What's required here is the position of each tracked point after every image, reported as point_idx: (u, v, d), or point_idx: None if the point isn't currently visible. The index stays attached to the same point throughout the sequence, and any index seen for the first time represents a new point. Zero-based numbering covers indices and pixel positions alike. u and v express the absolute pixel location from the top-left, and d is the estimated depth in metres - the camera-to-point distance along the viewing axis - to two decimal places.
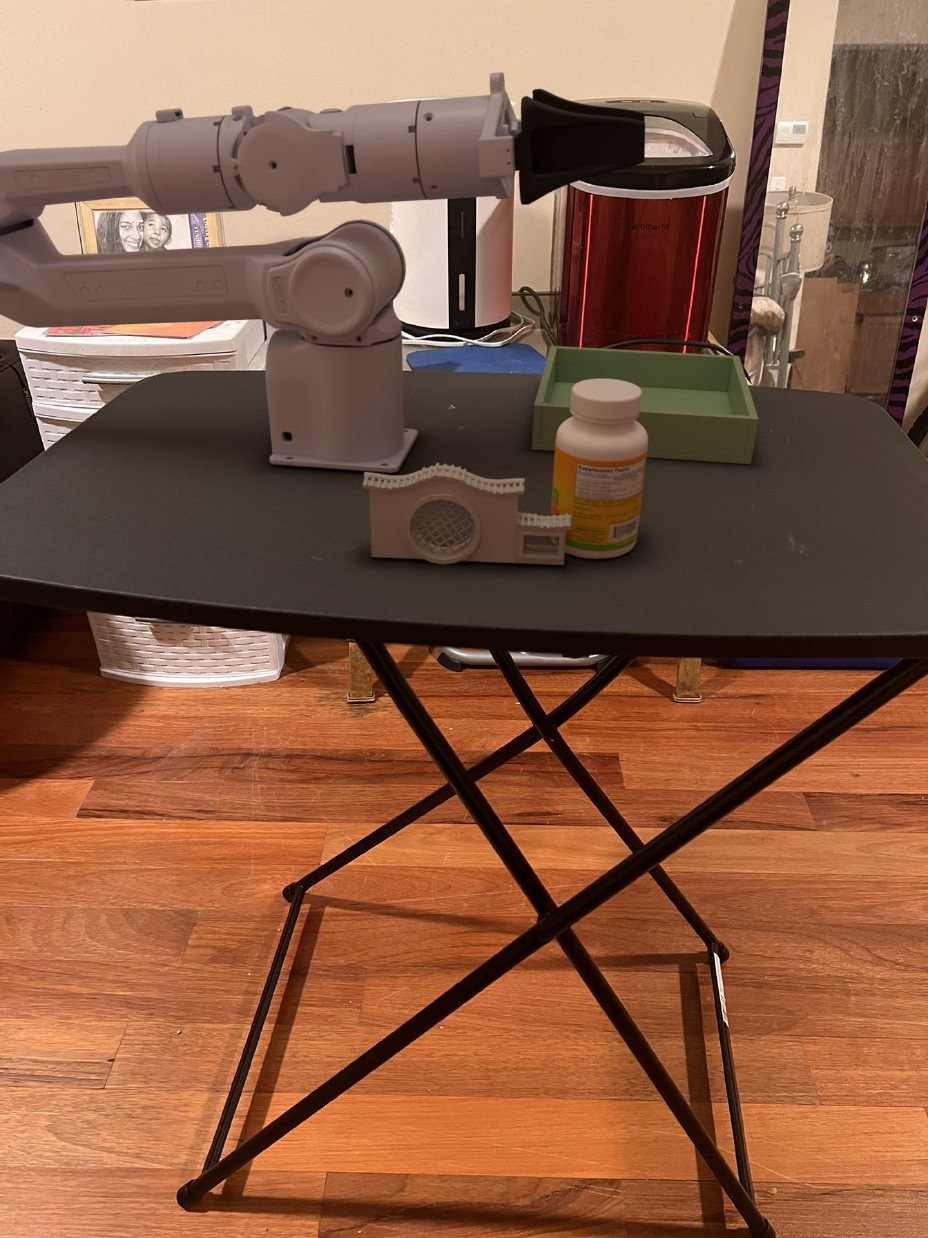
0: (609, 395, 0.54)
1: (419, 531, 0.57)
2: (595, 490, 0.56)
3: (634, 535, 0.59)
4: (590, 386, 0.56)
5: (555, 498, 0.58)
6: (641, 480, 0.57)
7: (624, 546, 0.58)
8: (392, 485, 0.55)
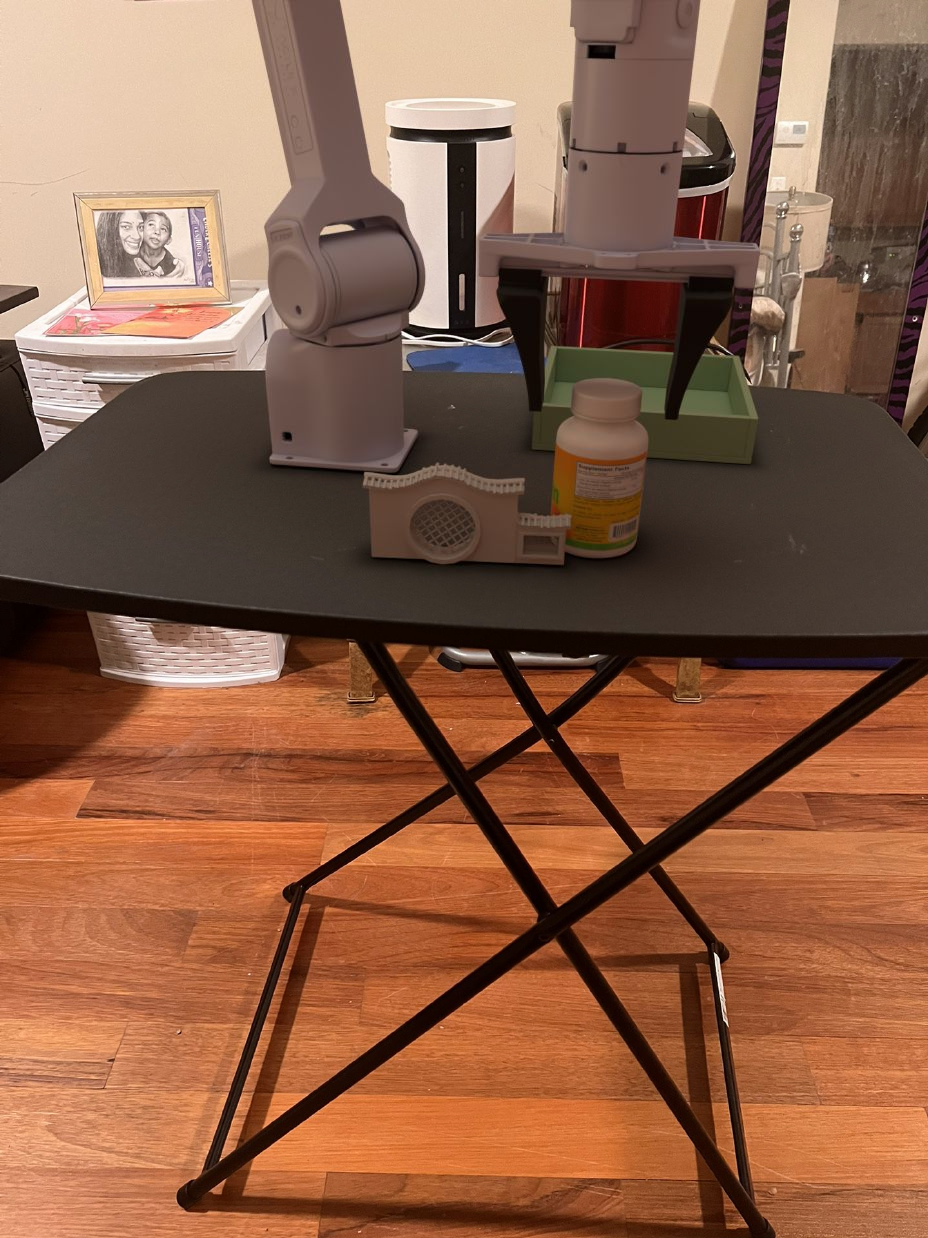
0: (609, 394, 0.55)
1: (419, 531, 0.57)
2: (595, 488, 0.56)
3: (634, 535, 0.59)
4: (591, 385, 0.56)
5: (555, 497, 0.58)
6: (641, 479, 0.57)
7: (623, 546, 0.58)
8: (392, 485, 0.55)
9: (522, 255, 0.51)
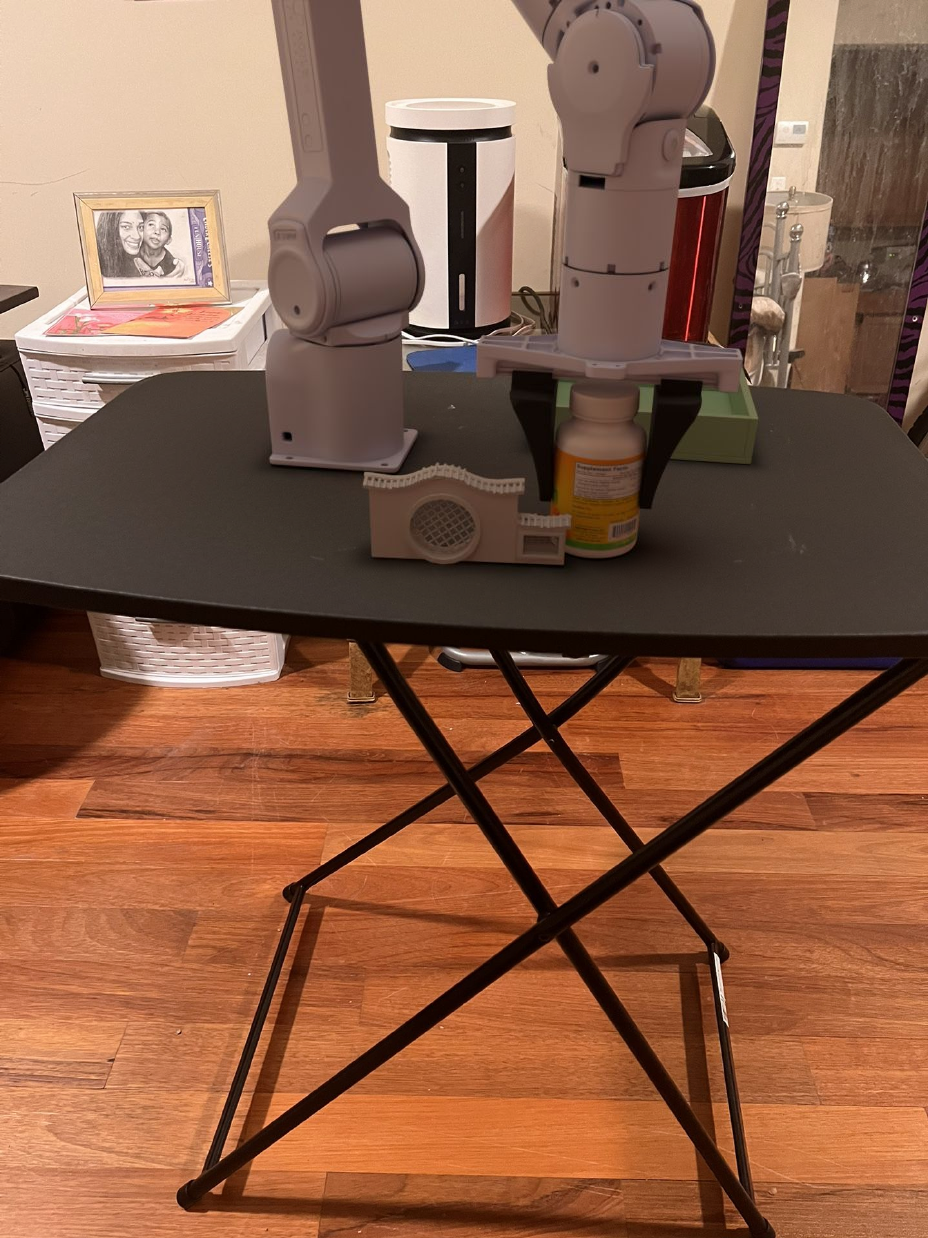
0: (607, 393, 0.54)
1: (419, 531, 0.57)
2: (593, 489, 0.56)
3: (634, 534, 0.59)
4: (589, 385, 0.56)
5: (554, 497, 0.58)
6: (640, 479, 0.57)
7: (623, 545, 0.58)
8: (392, 485, 0.55)
9: (518, 360, 0.54)
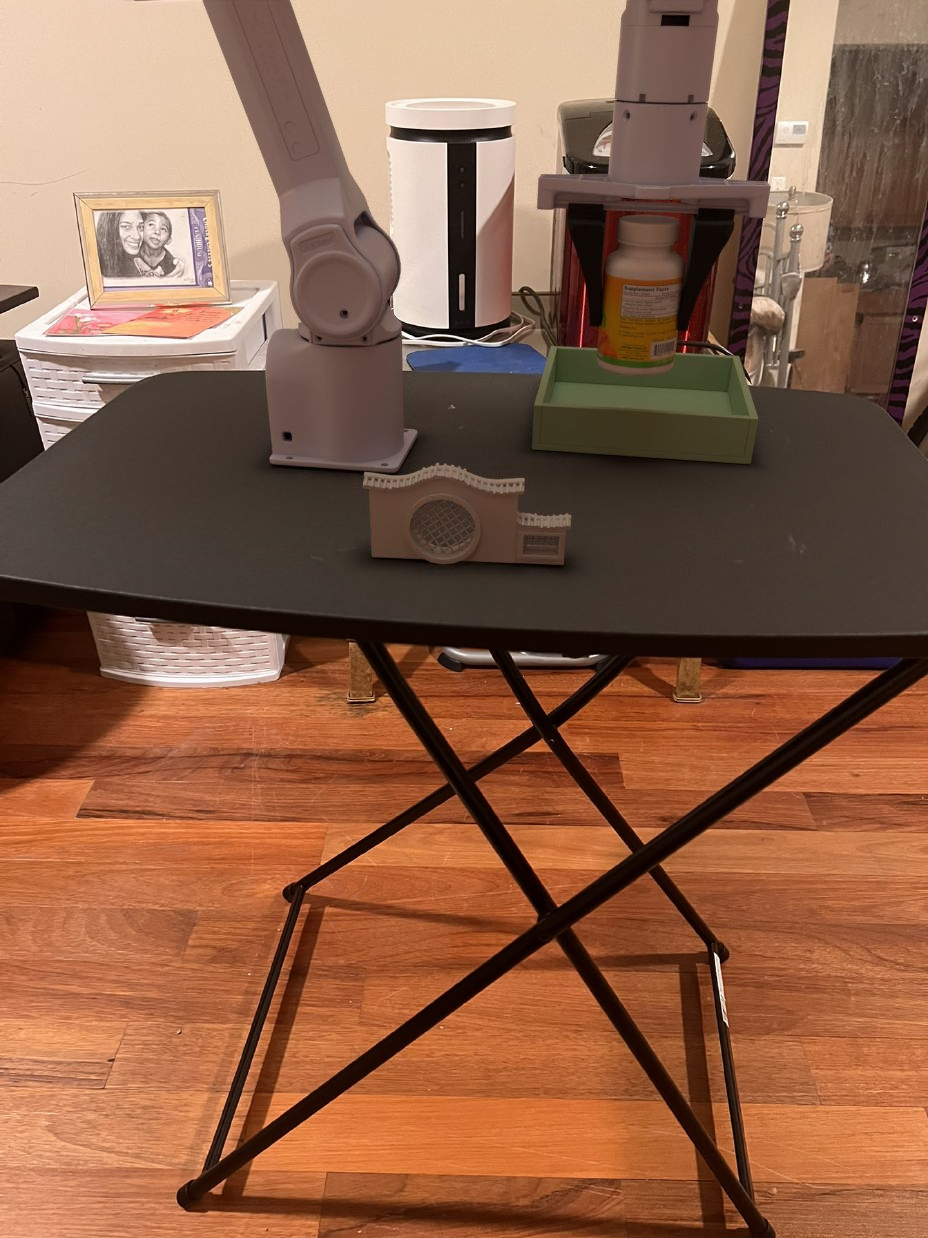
0: (652, 221, 0.62)
1: (419, 531, 0.57)
2: (638, 308, 0.64)
3: (672, 356, 0.67)
4: (635, 217, 0.64)
5: (602, 322, 0.66)
6: (679, 303, 0.65)
7: (663, 364, 0.66)
8: (392, 485, 0.55)
9: (574, 190, 0.62)
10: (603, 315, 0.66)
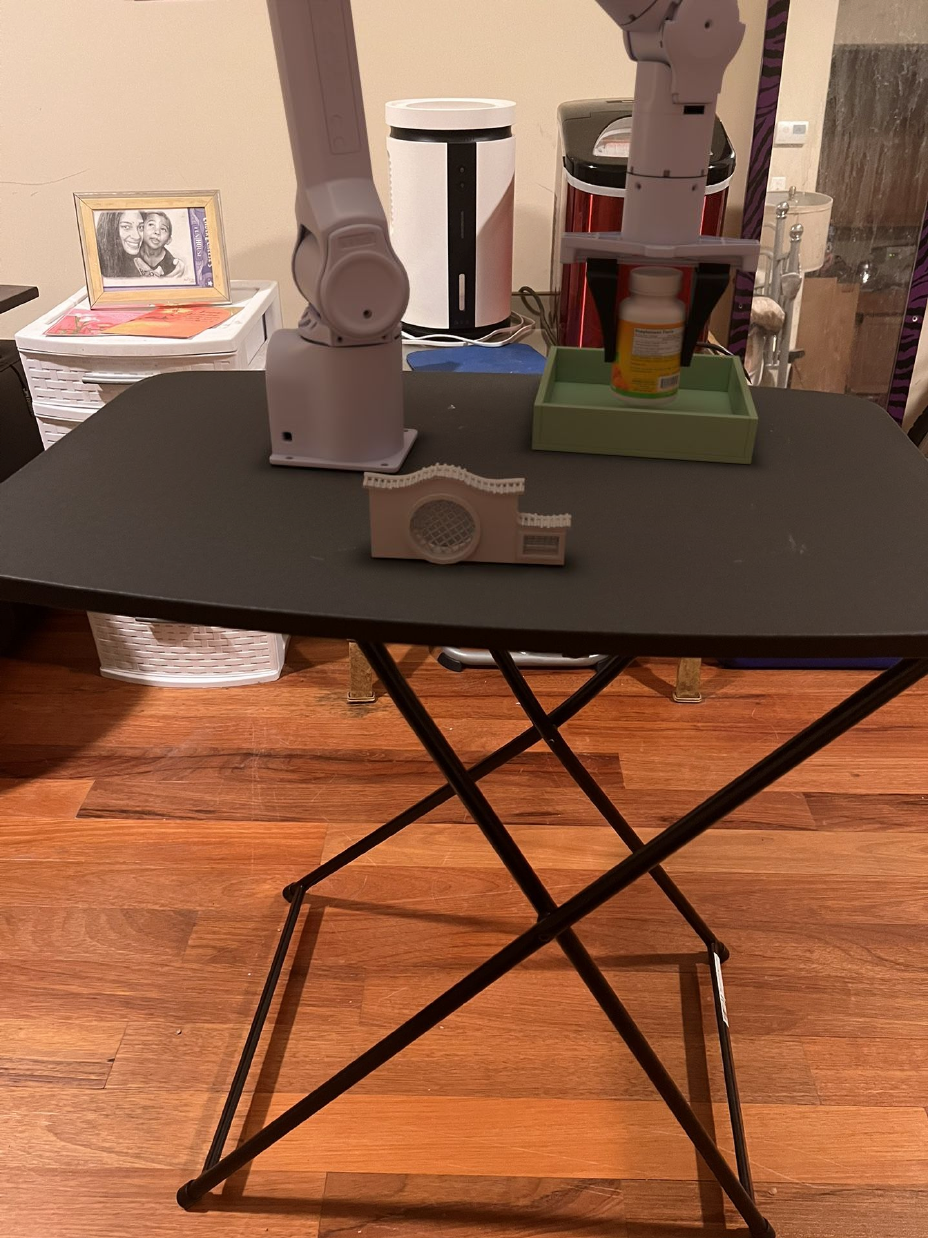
0: (659, 274, 0.73)
1: (419, 531, 0.57)
2: (647, 348, 0.74)
3: (676, 388, 0.77)
4: (644, 270, 0.74)
5: (616, 359, 0.76)
6: (682, 343, 0.75)
7: (668, 395, 0.76)
8: (392, 485, 0.55)
9: (592, 248, 0.72)
10: (616, 353, 0.76)
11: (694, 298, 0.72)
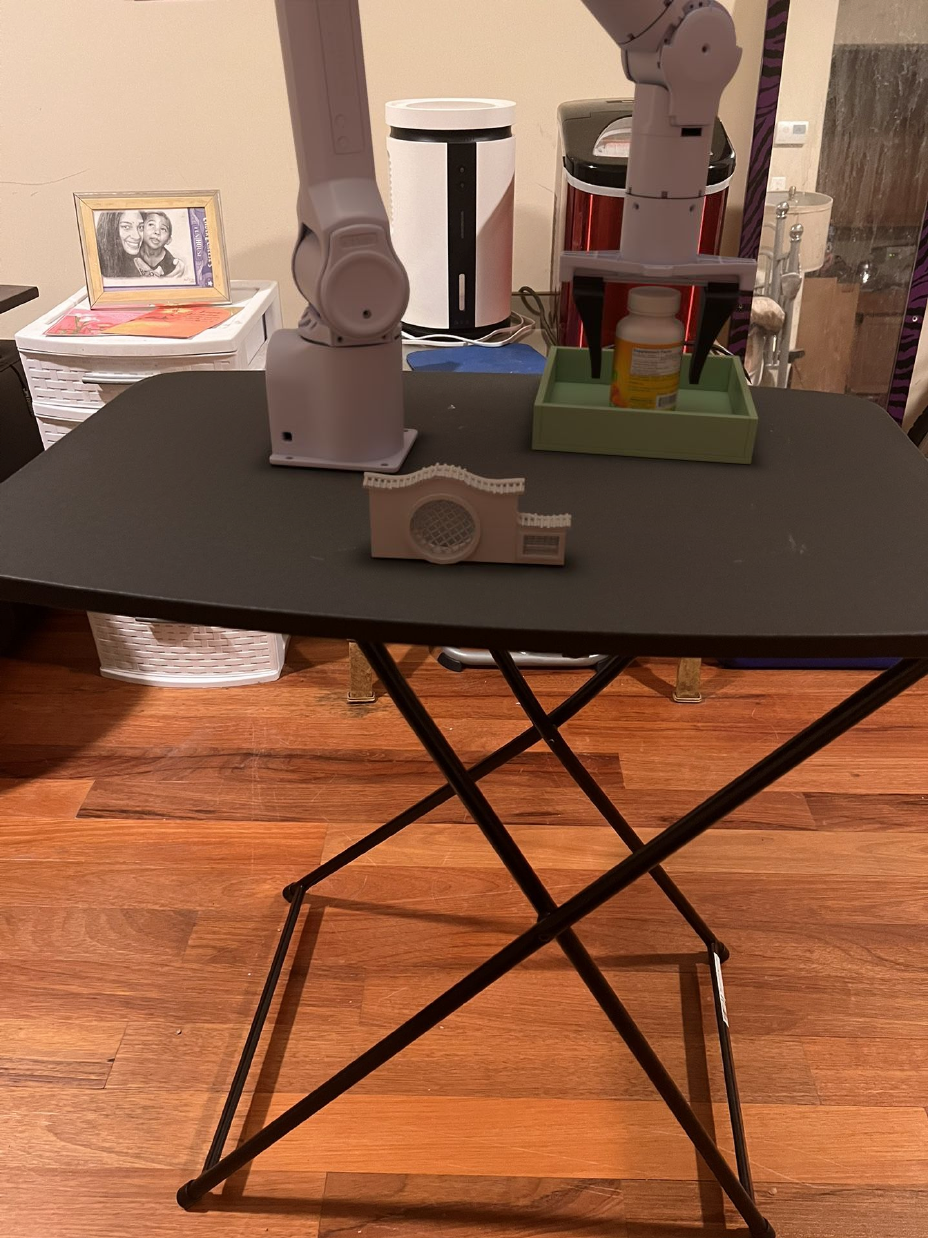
0: (657, 294, 0.73)
1: (419, 531, 0.57)
2: (645, 367, 0.75)
3: (674, 406, 0.77)
4: (642, 290, 0.75)
5: (614, 377, 0.77)
6: (680, 362, 0.76)
7: None
8: (392, 485, 0.55)
9: (591, 267, 0.73)
10: (615, 371, 0.77)
11: (703, 317, 0.72)
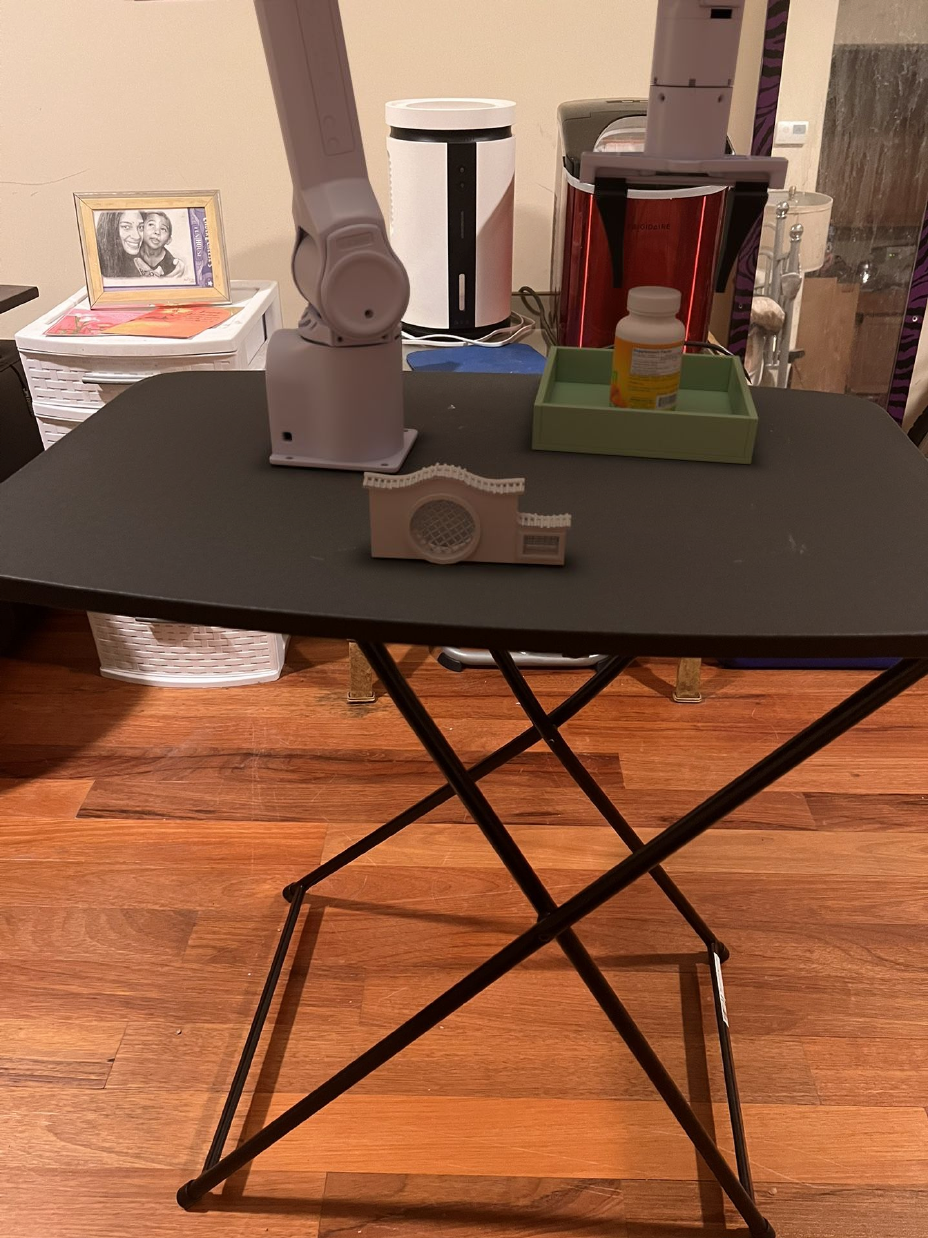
0: (657, 294, 0.73)
1: (419, 531, 0.57)
2: (645, 367, 0.75)
3: (674, 406, 0.77)
4: (642, 290, 0.75)
5: (614, 377, 0.77)
6: (680, 362, 0.76)
7: None
8: (392, 485, 0.55)
9: (613, 165, 0.69)
10: (615, 371, 0.77)
11: (731, 218, 0.69)
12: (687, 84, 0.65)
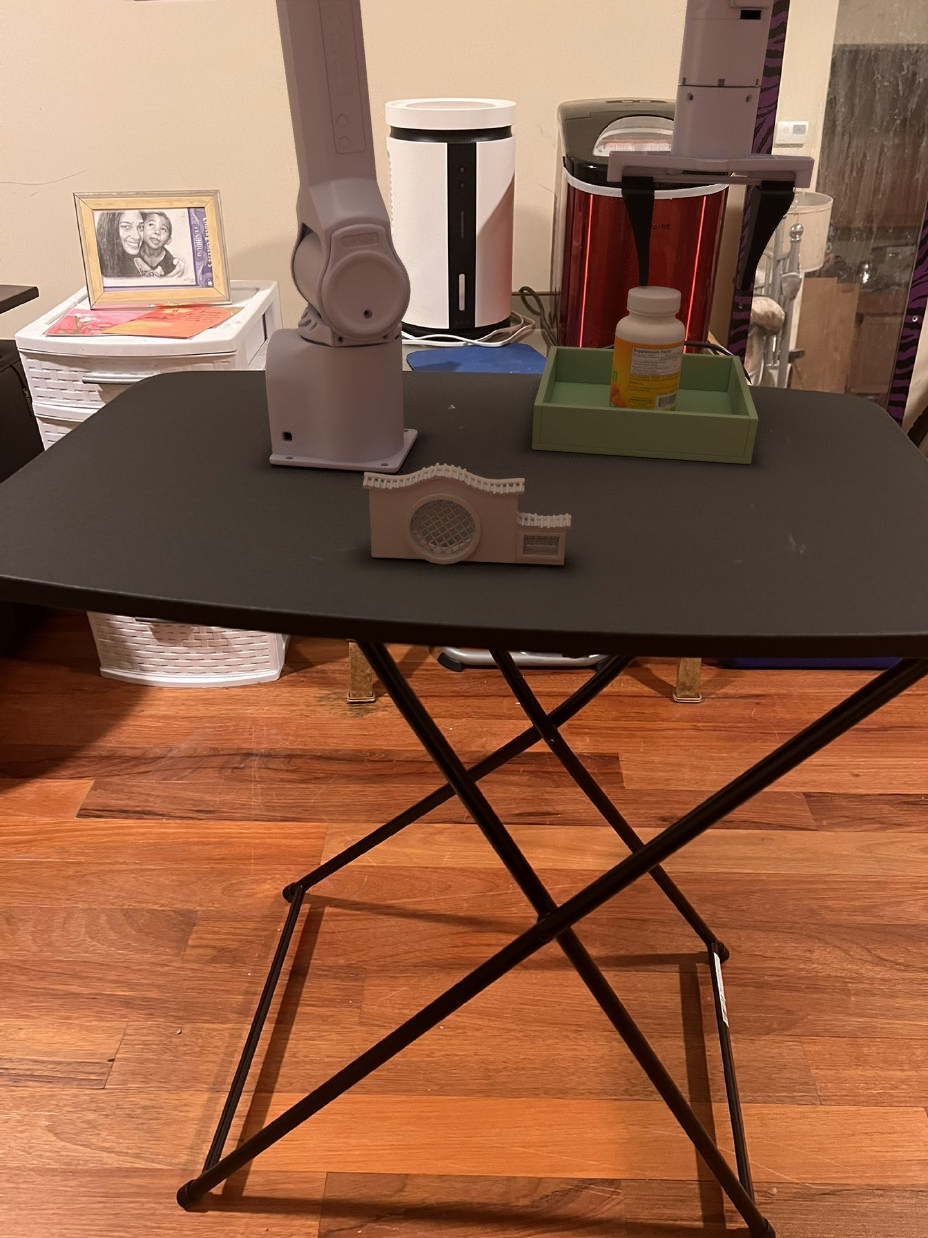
0: (657, 294, 0.73)
1: (419, 531, 0.57)
2: (645, 367, 0.75)
3: (674, 406, 0.77)
4: (642, 290, 0.75)
5: (614, 377, 0.77)
6: (680, 362, 0.76)
7: None
8: (392, 485, 0.55)
9: (641, 164, 0.70)
10: (615, 371, 0.77)
11: (757, 216, 0.70)
12: (716, 84, 0.66)
